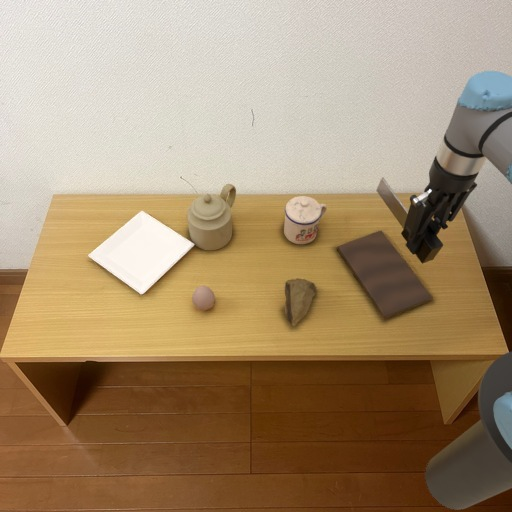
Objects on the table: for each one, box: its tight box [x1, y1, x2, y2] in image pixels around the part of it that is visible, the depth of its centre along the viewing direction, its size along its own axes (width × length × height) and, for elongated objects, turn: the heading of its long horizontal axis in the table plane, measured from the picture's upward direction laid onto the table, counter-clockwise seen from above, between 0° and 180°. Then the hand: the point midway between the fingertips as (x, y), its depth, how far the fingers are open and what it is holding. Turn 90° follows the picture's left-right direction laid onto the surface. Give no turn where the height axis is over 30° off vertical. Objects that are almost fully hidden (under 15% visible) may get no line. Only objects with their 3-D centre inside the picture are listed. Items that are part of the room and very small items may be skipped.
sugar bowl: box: [186, 183, 237, 251], centre depth 119 cm, size 15×11×15 cm
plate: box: [87, 210, 195, 295], centre depth 119 cm, size 19×19×2 cm
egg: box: [191, 285, 216, 311], centre depth 109 cm, size 5×5×7 cm
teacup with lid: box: [283, 195, 327, 245], centre depth 121 cm, size 12×9×12 cm
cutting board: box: [336, 230, 433, 321], centre depth 117 cm, size 22×13×2 cm, turn 24°
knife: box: [376, 176, 444, 264], centre depth 100 cm, size 20×3×6 cm, turn 24°
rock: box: [284, 277, 318, 327], centre depth 109 cm, size 11×9×10 cm
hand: (417, 246), depth 99 cm, fingers closed on knife, 3 cm apart
